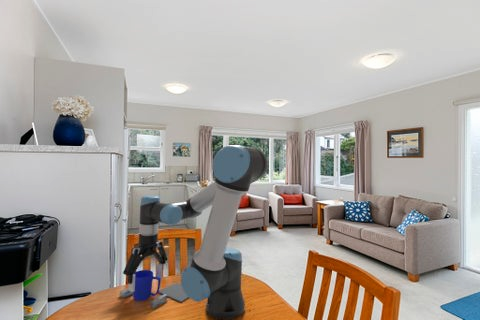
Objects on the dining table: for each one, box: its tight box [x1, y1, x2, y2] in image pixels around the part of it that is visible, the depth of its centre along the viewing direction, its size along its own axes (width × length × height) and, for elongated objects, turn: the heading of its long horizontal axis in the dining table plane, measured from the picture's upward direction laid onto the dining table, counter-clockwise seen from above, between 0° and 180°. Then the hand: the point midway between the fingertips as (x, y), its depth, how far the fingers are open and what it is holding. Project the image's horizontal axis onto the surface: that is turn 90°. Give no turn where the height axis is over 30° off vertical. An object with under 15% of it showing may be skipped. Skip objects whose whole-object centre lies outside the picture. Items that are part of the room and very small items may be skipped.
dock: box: [119, 270, 168, 310], centre depth 108 cm, size 19×10×12 cm, turn 58°
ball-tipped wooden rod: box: [141, 245, 170, 261], centre depth 118 cm, size 19×4×3 cm, turn 139°
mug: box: [132, 269, 162, 302], centre depth 108 cm, size 8×12×10 cm
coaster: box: [158, 281, 190, 304], centre depth 114 cm, size 14×11×1 cm
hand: (146, 284), depth 108 cm, fingers open, 13 cm apart
